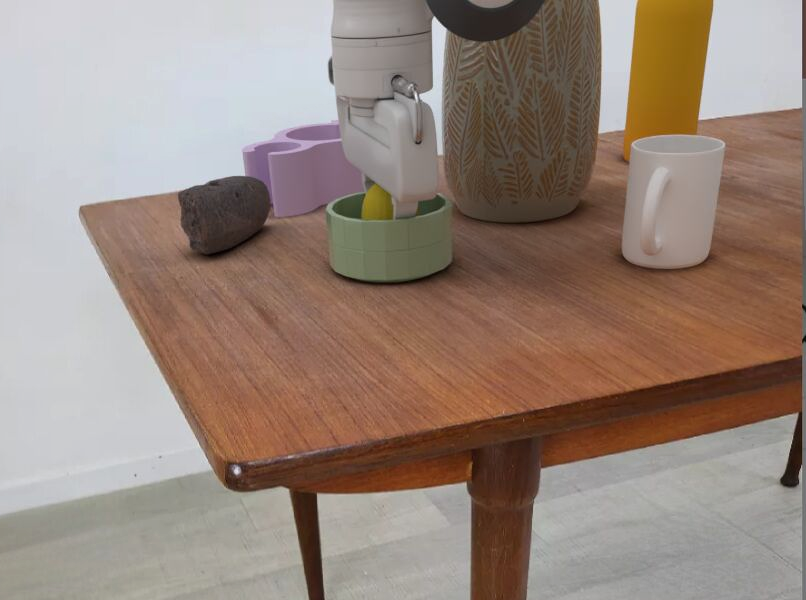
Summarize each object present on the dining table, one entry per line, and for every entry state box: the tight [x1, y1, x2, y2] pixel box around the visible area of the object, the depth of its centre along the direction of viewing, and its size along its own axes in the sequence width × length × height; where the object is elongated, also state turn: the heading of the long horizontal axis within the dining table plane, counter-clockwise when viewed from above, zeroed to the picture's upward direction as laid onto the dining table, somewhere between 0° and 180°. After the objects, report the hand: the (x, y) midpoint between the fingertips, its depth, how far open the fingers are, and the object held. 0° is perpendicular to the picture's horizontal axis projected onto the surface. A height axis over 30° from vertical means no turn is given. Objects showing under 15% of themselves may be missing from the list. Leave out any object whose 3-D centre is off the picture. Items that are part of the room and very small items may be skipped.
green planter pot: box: [325, 192, 453, 283], centre depth 92 cm, size 12×12×6 cm
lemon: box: [361, 183, 418, 220], centre depth 91 cm, size 6×6×8 cm
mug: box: [621, 134, 726, 270], centre depth 87 cm, size 12×8×10 cm
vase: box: [441, 0, 603, 224], centre depth 101 cm, size 17×17×27 cm
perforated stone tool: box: [177, 175, 272, 255], centre depth 101 cm, size 15×5×7 cm, turn 151°
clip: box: [241, 119, 365, 218], centre depth 117 cm, size 20×12×7 cm, turn 145°
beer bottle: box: [622, 0, 714, 163], centre depth 117 cm, size 9×9×29 cm
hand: (390, 229), depth 91 cm, fingers open, 7 cm apart
